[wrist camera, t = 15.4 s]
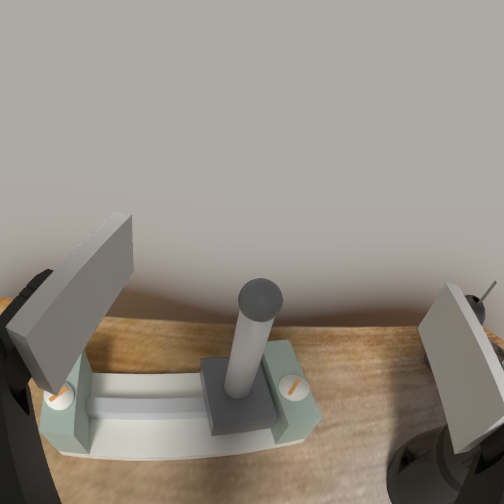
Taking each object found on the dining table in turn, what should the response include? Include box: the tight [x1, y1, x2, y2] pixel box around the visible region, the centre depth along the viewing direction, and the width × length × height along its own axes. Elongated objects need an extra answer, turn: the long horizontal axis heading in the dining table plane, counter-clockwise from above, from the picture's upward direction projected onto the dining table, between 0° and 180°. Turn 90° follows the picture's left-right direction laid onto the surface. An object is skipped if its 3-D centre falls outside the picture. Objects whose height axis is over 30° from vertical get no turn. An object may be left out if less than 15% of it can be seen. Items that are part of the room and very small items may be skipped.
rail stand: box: [39, 339, 322, 461], centre depth 31 cm, size 30×12×8 cm, turn 104°
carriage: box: [200, 278, 283, 436], centre depth 29 cm, size 7×9×18 cm
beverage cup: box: [424, 281, 496, 368], centre depth 43 cm, size 7×7×20 cm
